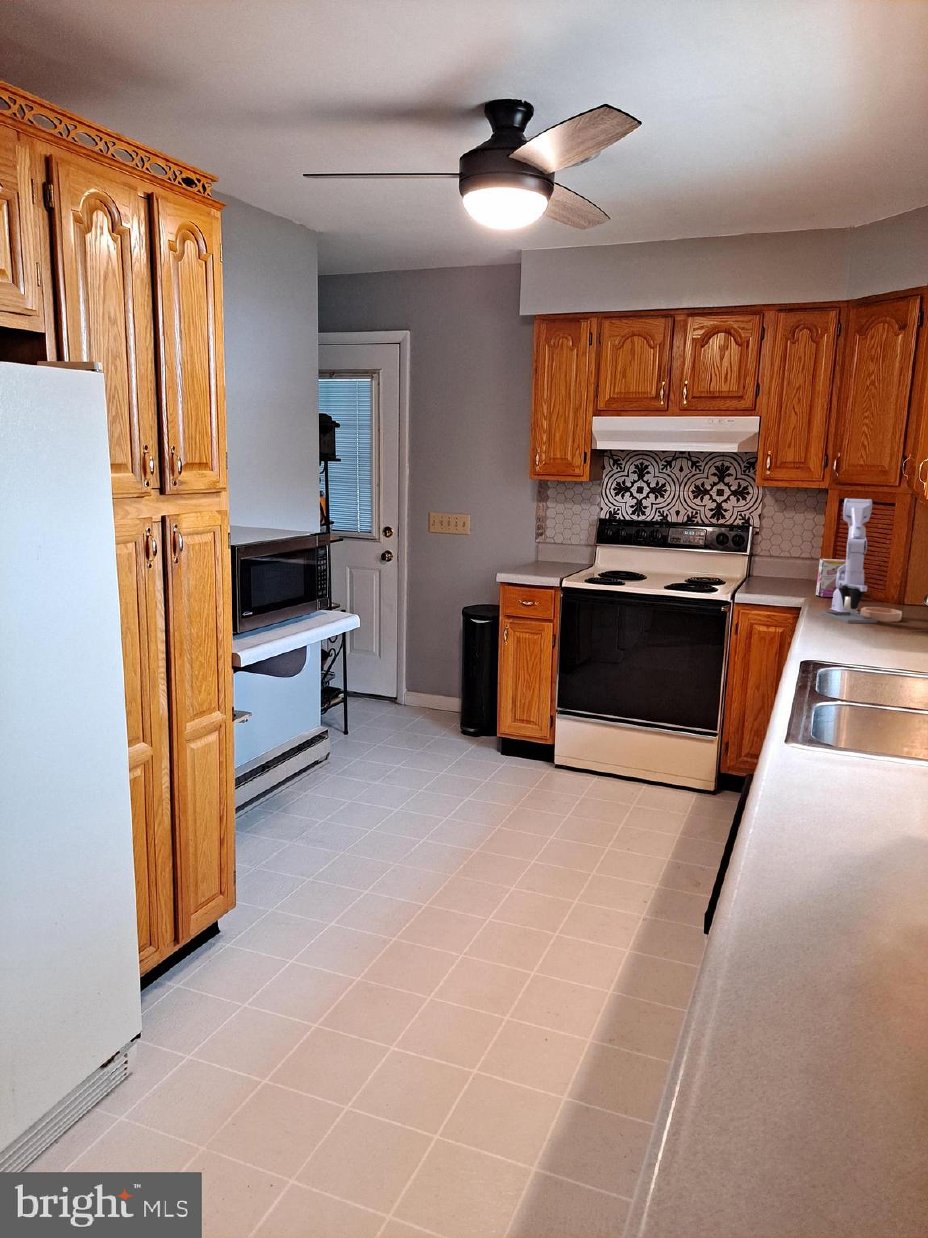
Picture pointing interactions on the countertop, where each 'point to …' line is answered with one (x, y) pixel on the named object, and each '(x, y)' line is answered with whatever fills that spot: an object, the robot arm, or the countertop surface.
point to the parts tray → (849, 617)
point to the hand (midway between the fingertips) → (849, 607)
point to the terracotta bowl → (882, 613)
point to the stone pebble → (848, 604)
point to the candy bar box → (828, 576)
